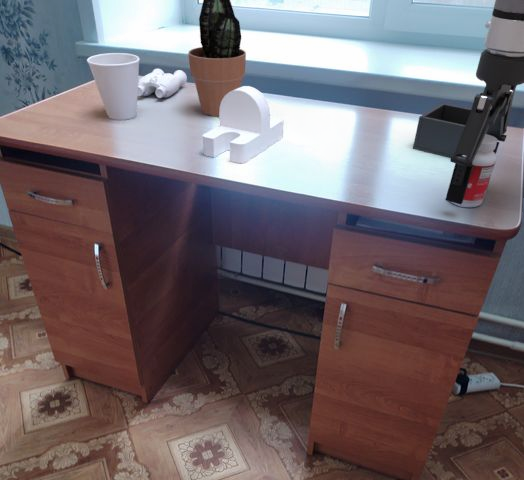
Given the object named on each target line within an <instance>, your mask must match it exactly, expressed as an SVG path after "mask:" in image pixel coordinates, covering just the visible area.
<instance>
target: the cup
mask: <svg viewBox="0 0 524 480" xmlns="http://www.w3.org/2000/svg"><path fill="white" fill-rule="evenodd" d="M140 60H141V58H140V57H139V56H138V55H136V54H132V53H126V52H125V53H124V52H123V53H122V52H109V53H99V54H95V55H91V56H89V57H88V58H87V59H86V63H87V65H88V66H89V69H90V71H91V74H92V77H93V79H94V82H95V85H96V88H97V90H98V93H99V95H100V98H101V100H102V101H101V102H102V104H103V106H104V109H105V112H106V115H107V117H108V118H109V119H111V120H114V121H117V120H118V121H126V120H131V119H134V118H136V117H137V112H138V111H137V110H138V96H137V94H138V81H139V75H140V73H139V72H140Z"/></svg>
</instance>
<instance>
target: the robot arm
mask: <svg viewBox="0 0 524 480" xmlns="http://www.w3.org/2000/svg"><path fill="white" fill-rule="evenodd" d="M491 14H492V15H491V16H490V20H489V21H488V20H487V22H486V24H484V25H485V26H484V28H485V29H486V30H487V32H486V35H485V40H484V43H483V45H484V46H485V49H484V50H483V51H482V52H481V53H480V56H479V60H478V64H477V68H476V72H475V77H476V78H477V79H478V80H479V81H481V82H484V83H485V86H484V89H483V92H480V93H477V94H476V95H475V96H474V98H473V103H472V106H471V108H470V109H471V112H470V115H469V117H468V120H467V123H466V125H465V128H464V130H463V133H462V135H461V138H460V141H459V143H458V146H457V148H456V151H455V153H454V156H453V157H451V158H450V163H454V167H453V171H452V174H451V178H450V181H449V185H448V189H447V191H446V192H447V193H446V197H445V201H447V202H450V203H452V202H454V203H457V204H462V203H463V199H464V196H465V193H466V189H467V186H468V183H469V179H470V176H471V173H472V169H473V166H474V165H473V164H472V163H473V160H474V158H475V156H476V154H477V152H478V150H479V147H480V145H481V143H482V141H483V139H484V137H485V134H487V135H491V136H494V137H495V138H497V144H496V148H495V149H494V150H493V152H494V153H495V154H496V155H497V151H498V148H499V146H500V142H503V143H504V142H505V141H506V139H507V136H508V135H507V134H506V133H507V130H508V124H509V119H510V114H511V110H512V105H513V100H514V96H515V92H516V89H517V86H520V85H523V84H524V0H495V2H494V6H493V9H492V13H491ZM462 155H465V156H466V157H464V156H462Z"/></svg>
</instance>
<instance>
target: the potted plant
mask: <svg viewBox="0 0 524 480" xmlns="http://www.w3.org/2000/svg"><path fill="white" fill-rule="evenodd" d="M198 23H199V25H198V26H199V38H200V44H201V46H199V47H195V48H192V49H190V50H188V53H187V54H188V64H189V71H190V72H189V73H190V76H191V77H192V78H193V80H194V84H195V89H196V93H197V96H198V101H199V105H200V109H201V112H202V113H203V114H205V115H207V116H212V117H219V111H220V104H221V101H222V99H223V98H224V96H225V95H226V94H228V93H229V92H231V91H233V90H235V89H237V88H240V87H242V82H243V78H244V77H245V76H246V61H247V58H246V57H247V53H246V50H244V49H242V48H241V41H242V32H241V24H240V20H238V18H237V17H236V16H235V12H234V8H233V5H232V2H231V0H203V1H202V5H201V9H200V14H199V18H198Z"/></svg>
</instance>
